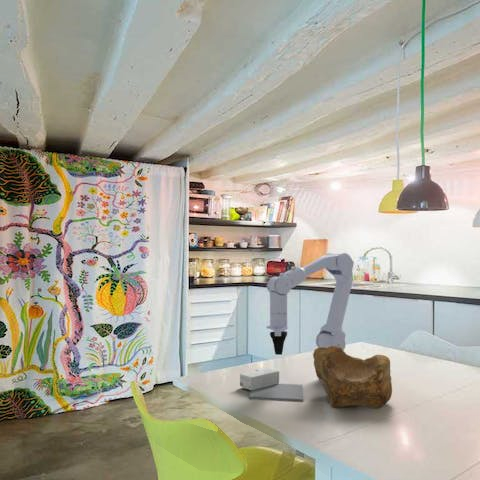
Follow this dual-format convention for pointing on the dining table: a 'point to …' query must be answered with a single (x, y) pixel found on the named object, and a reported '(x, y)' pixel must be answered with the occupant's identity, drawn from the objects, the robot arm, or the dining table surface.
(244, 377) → the skincare box
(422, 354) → the dining table surface
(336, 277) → the robot arm
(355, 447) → the dining table surface
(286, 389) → the rubber mat
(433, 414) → the dining table surface
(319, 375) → the rough brown rock
